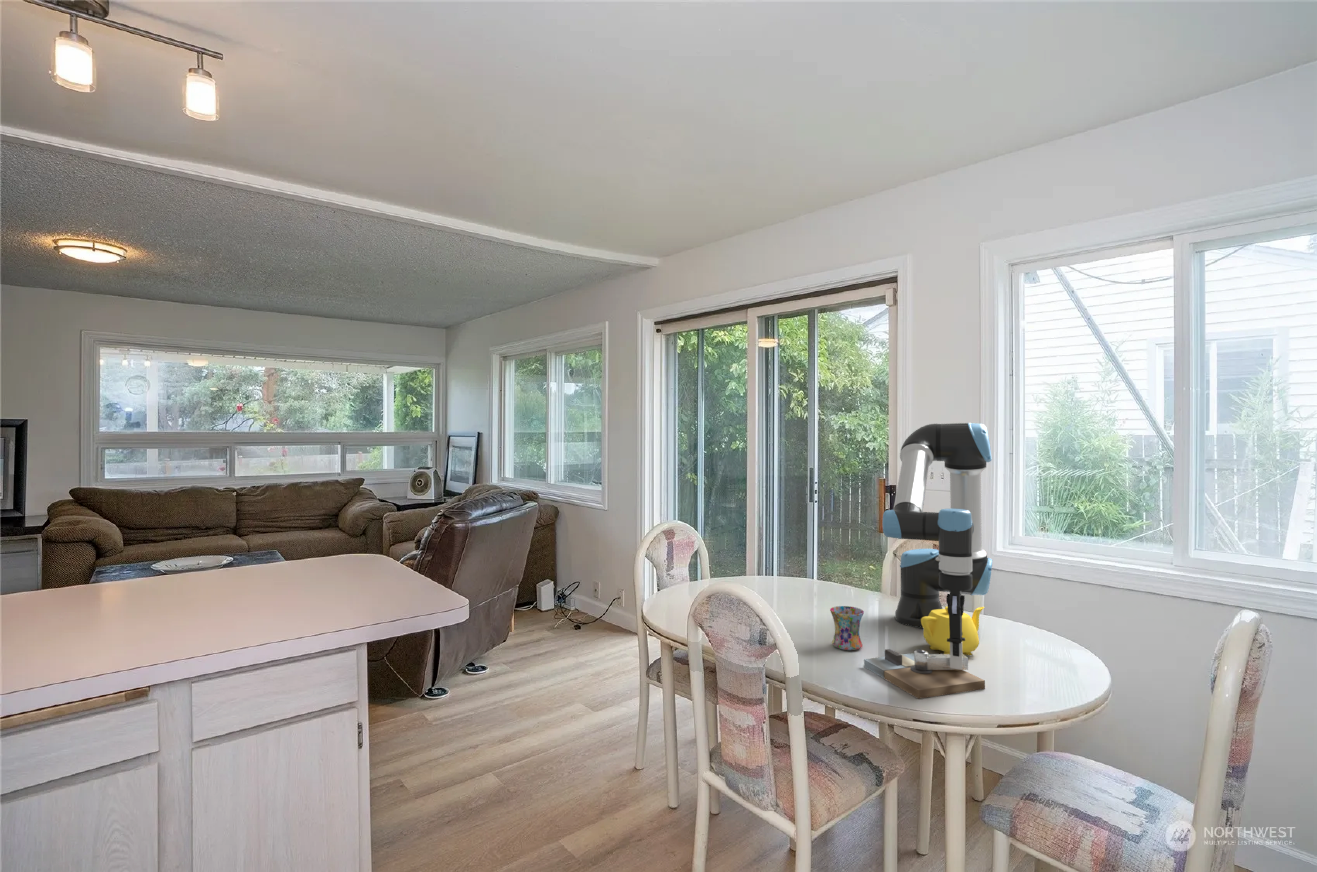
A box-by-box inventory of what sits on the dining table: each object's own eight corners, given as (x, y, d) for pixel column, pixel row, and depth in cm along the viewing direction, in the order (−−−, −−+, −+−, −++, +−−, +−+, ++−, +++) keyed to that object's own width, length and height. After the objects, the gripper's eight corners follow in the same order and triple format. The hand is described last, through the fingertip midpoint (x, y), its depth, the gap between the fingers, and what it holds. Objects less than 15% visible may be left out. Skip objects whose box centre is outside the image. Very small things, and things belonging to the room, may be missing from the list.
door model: (924, 658, 171) (924, 642, 171) (984, 688, 151) (984, 670, 151) (864, 666, 166) (863, 649, 166) (918, 698, 146) (918, 679, 146)
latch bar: (917, 670, 156) (917, 652, 156) (912, 665, 160) (912, 648, 160) (968, 670, 156) (968, 652, 156) (962, 665, 159) (962, 648, 159)
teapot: (1001, 656, 173) (1001, 611, 173) (937, 662, 169) (936, 616, 169) (967, 640, 186) (967, 598, 186) (907, 645, 182) (906, 603, 182)
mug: (867, 653, 176) (867, 615, 176) (834, 652, 177) (833, 614, 177) (857, 639, 188) (857, 603, 188) (825, 638, 189) (825, 603, 189)
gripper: (940, 566, 163) (941, 657, 163) (936, 575, 152) (937, 673, 152) (973, 568, 160) (974, 662, 159) (971, 578, 148) (972, 679, 148)
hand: (956, 667), depth 155 cm, fingers closed
